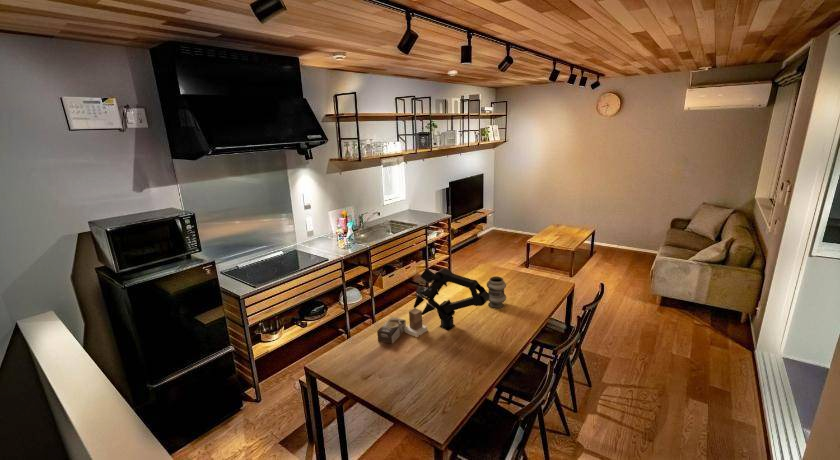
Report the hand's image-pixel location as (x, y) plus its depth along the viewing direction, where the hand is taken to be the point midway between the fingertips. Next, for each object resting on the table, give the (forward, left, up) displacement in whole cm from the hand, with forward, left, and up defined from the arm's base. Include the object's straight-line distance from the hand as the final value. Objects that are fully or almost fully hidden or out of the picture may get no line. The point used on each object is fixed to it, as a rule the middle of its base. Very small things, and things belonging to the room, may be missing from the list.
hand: (417, 311), depth 212 cm
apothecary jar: (-19, -51, -12) cm, 56 cm away
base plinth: (+1, +1, -12) cm, 12 cm away
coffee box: (+11, +4, -9) cm, 15 cm away
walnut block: (+1, +1, -10) cm, 10 cm away
